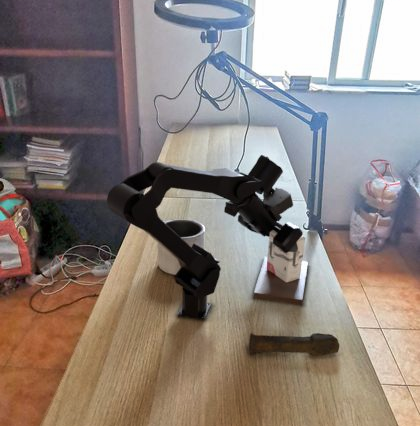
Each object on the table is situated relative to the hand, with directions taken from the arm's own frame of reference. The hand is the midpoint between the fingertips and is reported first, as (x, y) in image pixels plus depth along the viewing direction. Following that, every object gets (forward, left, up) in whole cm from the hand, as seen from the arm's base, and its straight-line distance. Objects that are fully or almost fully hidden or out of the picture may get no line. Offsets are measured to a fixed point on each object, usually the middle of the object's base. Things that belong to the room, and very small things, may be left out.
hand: (284, 243), depth 122 cm
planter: (0, +27, -11) cm, 29 cm away
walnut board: (-1, -1, -10) cm, 11 cm away
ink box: (0, -1, -9) cm, 9 cm away
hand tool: (-29, -6, -11) cm, 32 cm away
